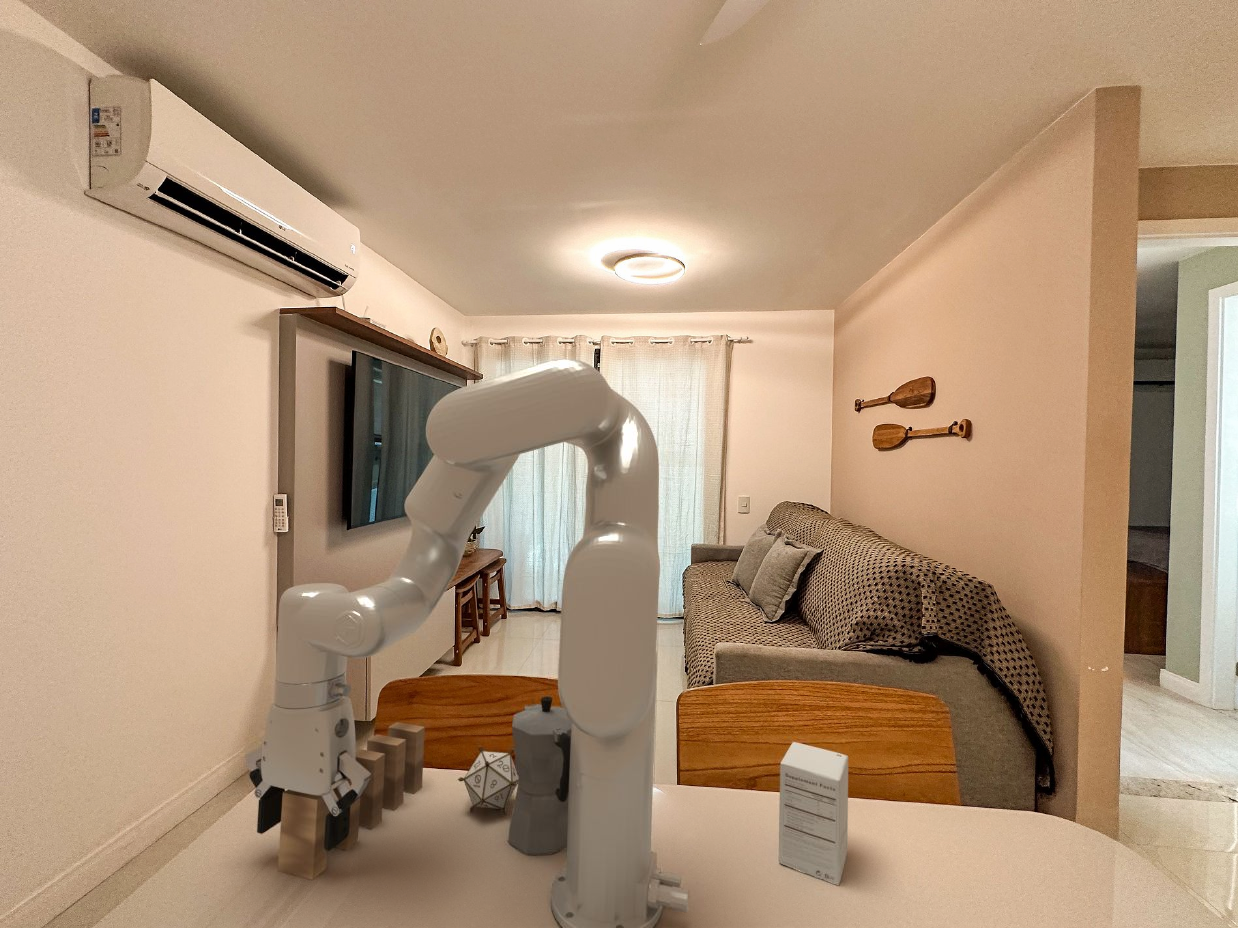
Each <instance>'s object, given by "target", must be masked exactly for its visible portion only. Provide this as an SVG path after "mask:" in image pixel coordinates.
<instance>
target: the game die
mask: <svg viewBox="0 0 1238 928" xmlns="http://www.w3.org/2000/svg"><path fill="white" fill-rule="evenodd" d="M483 749H484V748H483V746H482V745H480V744H478V751H479V754H478V755H477V757H476V758H475V760H474V762H473V763H472V765H471V766H470V768H469V770H467V773H466V774H465V776H464V777H459V778H457V781H459V782H464V786H465V788H466V791H467V793H468V796H469V798H470V801H471V804H472V806H470V807H469V813H471V812H473V811H474V810H475V808H481V809H492V810H501V811H502V815H503V816H507V810H506V808H505V807H506V806H507V804H508V802H509V800H510V799H511V798H512V795H513V794H514V792H515V790H516V789H517V786H518V780H519V776H518V775H517V771H516V763H515V761H514V759H513V755H512V754H513V753H515V751H514V747H512V748H511V749H510V750H509V752H504V751H492V750H491V751H489V750H483Z"/></svg>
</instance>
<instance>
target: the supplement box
mask: <svg viewBox="0 0 1238 928" xmlns="http://www.w3.org/2000/svg"><path fill="white" fill-rule="evenodd" d="M779 764H780V765H779V805H778V806H779V809H778V810H779V814H778V816H779V817H778V821H779V822H778V827H779V828H778V864H780V863H781V864H784V865H786V866H789V867H791V868H795V869H797V870H800V871H802V872H805V873H807V874H810V875H812V876H816V877H818V878H821V879H824V880H826V881H830V882H832V883H835V884H837V885H836V886H839V885H840V884H841V880H842V875H843V872H844V867H845V864H846V860H847V857H848V856H847V855H848V853H847V851H848V839H849V838H848V837H849V836H848V834H849V831H848V827H849V826H848V825H849V824H848V821H849V819H848V818H849V814H848V813H849V756H848V755H846V754H842V753H839V752H836V751H832V750H828V749H824V748H820V747H817V746H816V747H815V746H812V745H807V744H803V743H799V742H796V741H792V743H791V744H790V746H789V748H788V750H787V751H786V753H785V755H784V756H783V758H782V760H781V762H780V763H779ZM781 864H780V865H781ZM786 866H785V867H786ZM791 868H790V869H791ZM802 872H801V873H802ZM807 874H806V875H807ZM810 875H809V876H810ZM812 876H811V877H812ZM818 878H817V879H818ZM821 879H820V880H821ZM826 881H825V882H826ZM832 883H831V884H832Z"/></svg>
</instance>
